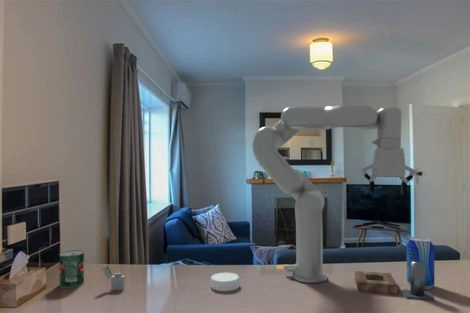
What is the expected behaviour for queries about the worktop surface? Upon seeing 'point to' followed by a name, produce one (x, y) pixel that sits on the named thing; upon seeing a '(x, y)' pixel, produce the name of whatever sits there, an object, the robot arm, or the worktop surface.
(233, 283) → the white cheese wheel
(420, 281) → the rod
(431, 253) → the beer can
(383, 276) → the pocket block
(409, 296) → the mat
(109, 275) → the lighter
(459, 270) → the worktop surface
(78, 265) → the canned tomato
